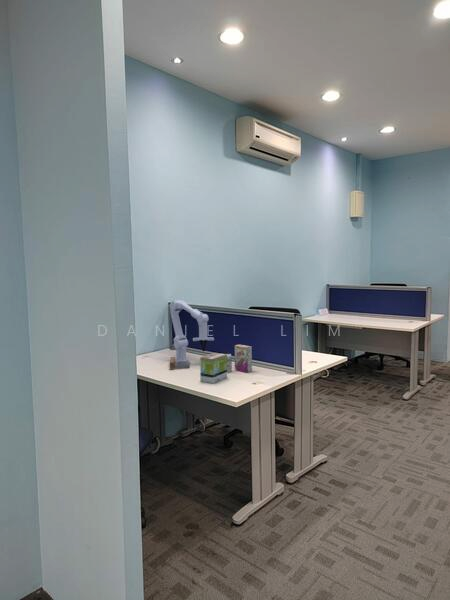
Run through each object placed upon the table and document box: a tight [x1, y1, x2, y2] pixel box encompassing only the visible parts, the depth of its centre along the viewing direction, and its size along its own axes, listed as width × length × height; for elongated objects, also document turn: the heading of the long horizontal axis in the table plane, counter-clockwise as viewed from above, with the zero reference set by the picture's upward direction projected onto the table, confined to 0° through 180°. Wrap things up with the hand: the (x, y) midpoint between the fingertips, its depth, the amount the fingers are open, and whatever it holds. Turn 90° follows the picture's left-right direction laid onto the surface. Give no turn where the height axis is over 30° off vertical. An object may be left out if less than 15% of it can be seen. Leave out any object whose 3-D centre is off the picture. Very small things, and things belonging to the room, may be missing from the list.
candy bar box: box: [234, 344, 253, 374], centre depth 253 cm, size 11×5×16 cm, turn 47°
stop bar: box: [169, 356, 176, 371], centre depth 267 cm, size 16×3×5 cm, turn 5°
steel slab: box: [174, 360, 191, 370], centre depth 267 cm, size 10×10×3 cm
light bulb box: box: [226, 353, 233, 373], centre depth 253 cm, size 11×7×11 cm, turn 84°
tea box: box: [199, 352, 228, 384], centre depth 235 cm, size 15×10×15 cm
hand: (203, 351), depth 272 cm, fingers closed
